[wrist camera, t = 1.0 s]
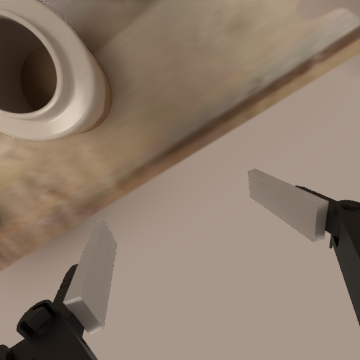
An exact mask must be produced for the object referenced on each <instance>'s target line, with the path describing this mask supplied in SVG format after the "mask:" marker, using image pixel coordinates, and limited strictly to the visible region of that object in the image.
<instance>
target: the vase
mask: <svg viewBox="0 0 360 360" xmlns="http://www.w3.org/2000/svg"><path fill="white" fill-rule="evenodd" d="M110 104H111V91H110V86H109V82H108V80H107V77H106V75H105V73H104V71H103V70H102V68H101V67H100V65H99V64H98V62H97V61H96V60H95V58H94V57H93V55H92V54H91V53H90V51H89V50H88V48H87V47H86V46H85V44H84V43H83V41H82V40H81V39H80V37H79V36H78V35H77V33H76V32H75V31H74V30H73V29H72V27H71V26H70V25H69V24H68V23H67V22H66V21H65V20H64V19H63V18H62V17H61V16H60V15H59V14H57V13H56V12H55V11H54V10H52V9H51V8H50V7H48V6H47V5H46V4H44V3H42V2H41V1H39V0H0V132H1V133H3V134H6V135H8V136H11V137H15V138H18V139H23V140H29V141H52V140H57V139H61V138H65V137H69V136H73V135H76V134H80V133H84V132H87V131H90V130H92V129H94V128H96V127H97V126H98V125H100V124H101V123H102V122H103V120H104V119H105V118H106V116H107V114H108V112H109V109H110Z"/></svg>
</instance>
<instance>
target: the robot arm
mask: <svg viewBox="0 0 360 360" xmlns="http://www.w3.org/2000/svg"><path fill="white" fill-rule="evenodd" d="M248 176H249V188H250V197H251V198H252V199H254V200H255V201H257V202H258V203H259V204H261V205H262V206H264V207H265V208H266V209H268V210H269V211H271V212H272V213H273V214H275V215H276V216H278V217H279V218H280V219H282V220H283V221H285V222H286V223H287V224H289V225H290V226H291V227H293V228H294V229H296V230H297V231H298V232H300V233H301V234H303V235H304V236H305V237H307V238H308V239H310V240H311V241H312V242H317V241H319V240H322V239H324V237H325V231H327V232H329V233H330V234H331V239H330V248H332V246H333V247H334V250H335V253H336V256H337V259H338V262H339V265H340V268H341V271H342V274H343V277H344V280H345V283H346V286H347V289H348V292H349V295H350V298H351V301H352V304H353V307H354V310H355V313H356V316H357V319H358V322H359V325H360V203H359V202H356V201H351V200H341V201H335V200H333V199H331V198H328V197H326V196H324V195H321V194H319V193H317V192H314V191H311V190H309V189H307V188H305V187H301V186H293V185H291V184H288V183H286V182H284V181H281V180H279V179H277V178H275V177H273V176H270V175H268V174H266V173H264V172H261V171H259V170H257V169H253V170H250V171H248ZM116 247H117V243H116V241H115V239H114V237H113V235H112V233H111V231H110V229H109V227H108V225H107V223H106V221H105V219H103V220H100V221H97V222H95V223H94V226H93V228H92V231H91V233H90V236H89V238H88V241H87V244H86V246H85V249H84V251H83V253H82V256H81V258H80V261H79V263H78V264H76V265H73V266H72V267H71V268H70V269H69V271H68V272H67V273H66V275H65V277H64V279H63V283H62V284H61V286H60V289H59V290H58V292H57V295H56V297H55V299H54V301H53V303H52V302H51V301H50V300H43V301H41V302H38V303H37V304H35V305H34V306H33V307H31V308H30V309H29V310H28V311H27V312H26V313H25V314H24V315H23V317H22V318H21V319H20V321H19V323H18V325H17V332H18V333H19V334H20V335H22V336H23V337H24V338H25V339H24V340H22V341H20V342H19V343H17V344H16V345H15V346H13V347H11V348H10V349H9V348H8V347H7V346H5V345H0V360H97V358H96V357H95V355H94V354H93V352H92V351H91V349H90V348H89V346H88V345H87V343H86V342H85V341H84V339H83V338H82V335H83V332H84V329H85V330H86V331H87V333H88V334H92V333H95V332H97V331H99V330H102V329H104V324H105V317H106V311H107V305H108V298H109V292H110V286H111V279H112V273H113V267H114V260H115V254H116Z"/></svg>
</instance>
